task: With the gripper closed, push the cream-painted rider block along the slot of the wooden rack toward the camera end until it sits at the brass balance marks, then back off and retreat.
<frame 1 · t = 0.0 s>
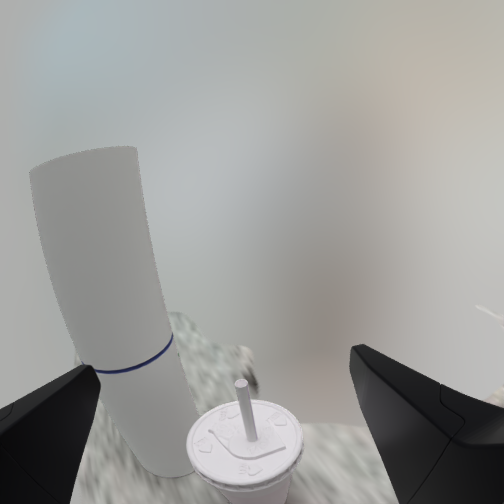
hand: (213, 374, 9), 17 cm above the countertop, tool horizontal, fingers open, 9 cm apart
smoothie: (261, 502, 16), on the countertop
cylindrical container: (173, 449, 22), on the countertop
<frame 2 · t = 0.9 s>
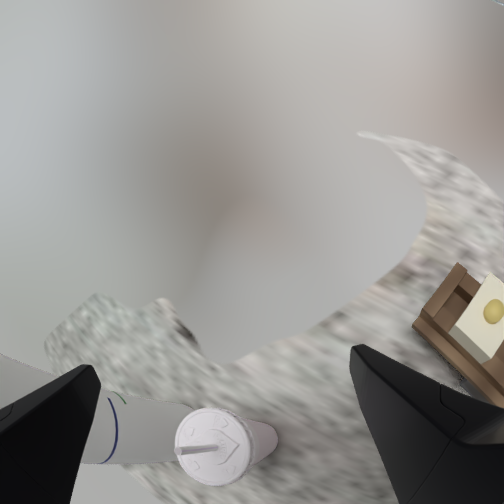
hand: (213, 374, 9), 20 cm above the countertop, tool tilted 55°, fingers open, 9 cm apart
rider: (485, 320, 16), point 6 cm above the countertop, slide at 0.0 cm
smoothie: (261, 439, 24), on the countertop
wooden rack: (496, 370, 18), on the countertop
cylindrical container: (180, 432, 28), on the countertop
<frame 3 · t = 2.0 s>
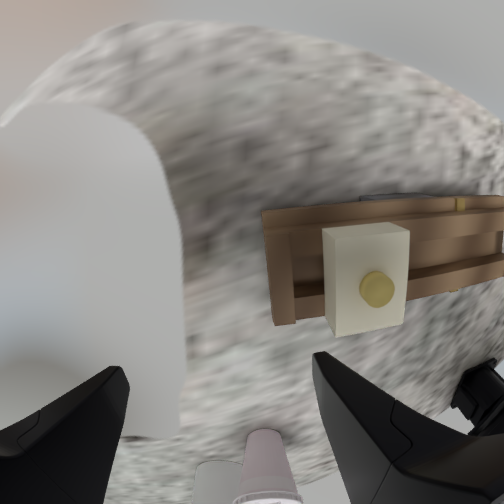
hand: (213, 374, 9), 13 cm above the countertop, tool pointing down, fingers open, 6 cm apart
rider: (362, 275, 15), point 6 cm above the countertop, slide at 0.0 cm
smoothie: (264, 437, 27), on the countertop
wooden rack: (389, 238, 21), on the countertop
cylindrical container: (223, 472, 29), on the countertop
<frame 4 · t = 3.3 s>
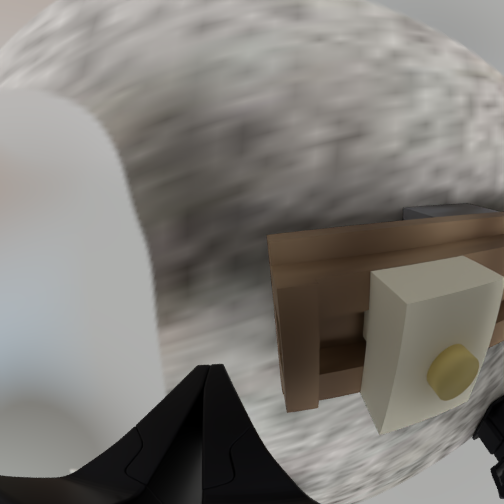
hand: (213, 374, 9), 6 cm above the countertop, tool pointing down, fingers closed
rider: (424, 340, 8), point 6 cm above the countertop, slide at 0.0 cm
wooden rack: (435, 264, 15), on the countertop
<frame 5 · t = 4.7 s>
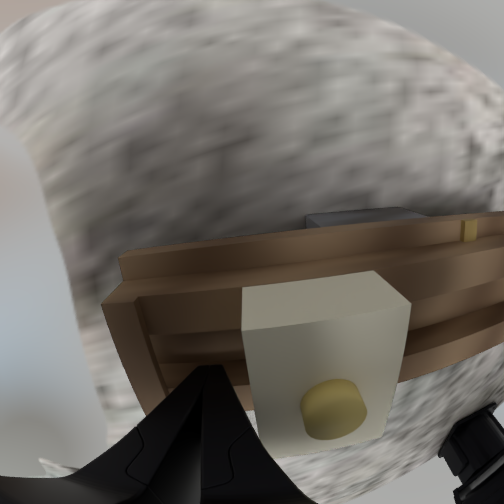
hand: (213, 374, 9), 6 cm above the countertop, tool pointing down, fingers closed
rider: (317, 365, 8), point 6 cm above the countertop, slide at 1.5 cm, touching gripper
wooden rack: (355, 277, 14), on the countertop
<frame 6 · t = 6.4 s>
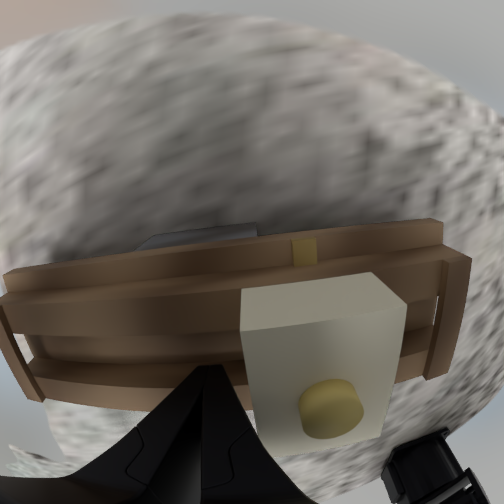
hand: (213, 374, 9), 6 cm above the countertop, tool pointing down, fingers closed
rider: (316, 365, 8), point 6 cm above the countertop, slide at 8.8 cm, touching gripper
wooden rack: (214, 295, 15), on the countertop
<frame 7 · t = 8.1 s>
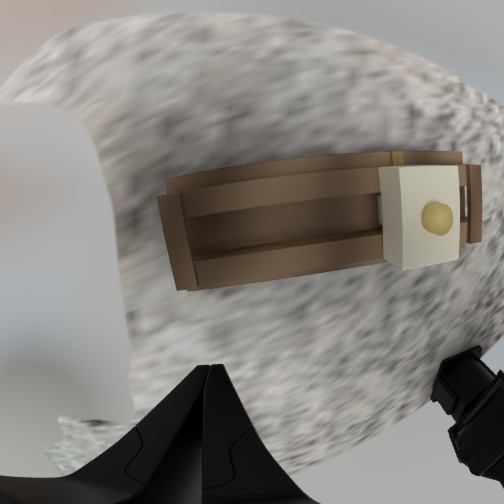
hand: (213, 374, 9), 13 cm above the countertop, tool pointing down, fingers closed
rider: (417, 212, 14), point 6 cm above the countertop, slide at 8.9 cm
wooden rack: (325, 205, 20), on the countertop
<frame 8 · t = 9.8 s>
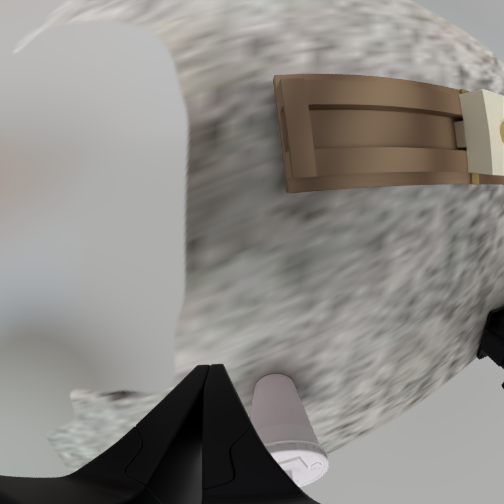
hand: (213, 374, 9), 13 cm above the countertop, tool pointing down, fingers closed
rider: (490, 135, 13), point 6 cm above the countertop, slide at 8.9 cm
smoothie: (274, 387, 25), on the countertop
wooden rack: (402, 136, 19), on the countertop
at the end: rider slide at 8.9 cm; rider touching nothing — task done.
